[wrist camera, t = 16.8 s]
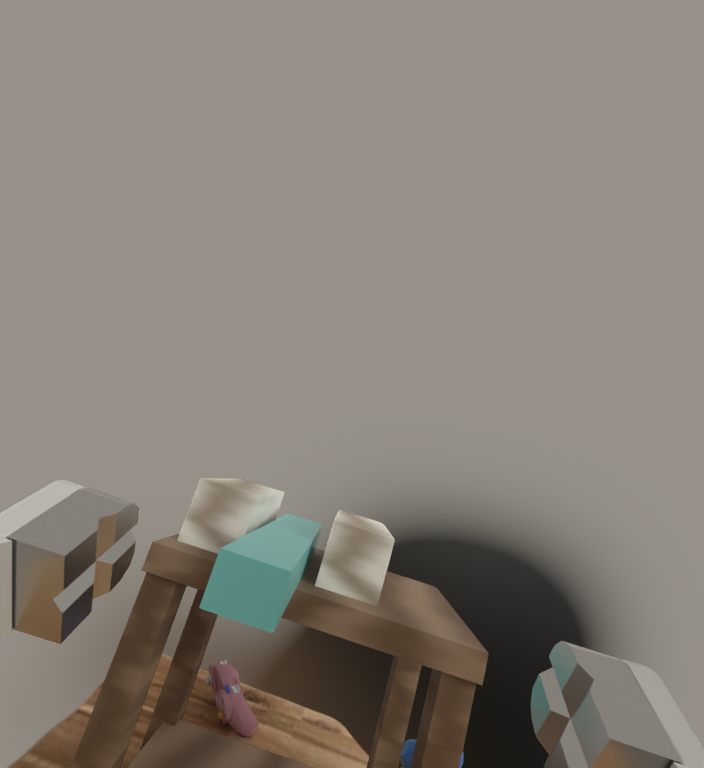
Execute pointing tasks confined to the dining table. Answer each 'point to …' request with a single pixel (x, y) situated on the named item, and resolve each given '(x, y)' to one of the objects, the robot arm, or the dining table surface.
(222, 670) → the video game controller
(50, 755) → the dining table surface
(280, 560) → the module bar
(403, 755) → the grapes
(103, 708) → the shelf
